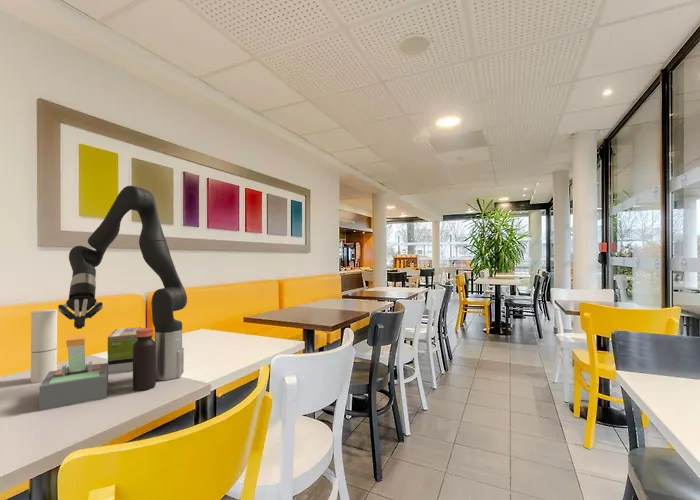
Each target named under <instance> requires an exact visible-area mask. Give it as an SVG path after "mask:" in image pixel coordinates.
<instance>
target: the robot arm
mask: <svg viewBox="0 0 700 500" xmlns="http://www.w3.org/2000/svg"><path fill="white" fill-rule="evenodd" d="M130 211H135V212H137V213H138V215H139V218H140V220H141V221H140V222H141V231H140V235H139V238H138V245H139V248H140V253H141V255H142V258H143V260H144V262H145V263H146V265H148V267H149V268H151V270H152V271H153V272H154V273H155V274H156V275H157V276H158V277H159V278H160V281H161V282H162V285H163V288H159V289H156V290H155V291H154V292H153V294H152V297H151V303H150V304H151V318H152V319H151V321H152V324H153V325H152V326H153V327H154V328H153V329H154V341H155V343H156V381H168V380H174V379H177V378H178V379H179V378H181V377H182V375H183V373H184V364H185V361H184V359H185V358H184V357H185V356H184V354H185V351H184V350H185V349H184V347H183V322H182V321H181V320H177V319H175V316H174V312H177V311H181V310H183V309H185V308H186V306H187V303H188V295H187V292H186V290H185V287H184V285H183V283H182V281H181V279H180V277H179V274H178V273H177V272H178V271H177V270H176V267H175V264H174V262H173V259H172V256H171V253H170V248H169V245H168V242H167V240H166V237H165V234H164V231H163V229H162V225H161V222H160V218H159V213H158V207H157V203H156V199H155V196H154V195H153V193H152V192H151V191H149V189H145V188H142V187H138V186H134V185H126V186H125V187H123V188H122V189H121V190H120V192H119V193H118V194H117V197H115V200H114V201H113V203H112V205H111V207H110V208H109V209H108V211H107V214H106V216H105V217H104V219H103V221H102V222H101V223H100V224H99V226H98V227H97V228H96V229H95V230H94V231H93V232H92V234H91V235H89V237H88V239H87V243H88V246H90V247H92V248H93V249H92V248H90V247H86V246H83V245H76V246H74V247H72V248H71V249H70V251H69V252H68V253H69V254H68V261H69V264H70V267H71V269H72V274H71V275H72V276H71V280H70V284H69V285H70V286H69V293H68V299H67V300H66V302H65V303H64V304H58V306H57V307H58V312H59V313H61V314H62V316H64V317H66V318H67V319H68V320H69V321H70V320H74V321H73V326H74V328H75V329H76V330H80V329H83V328H85V325H86V319H91V318H93V317H94V316H95V315H96V314H97V313H99V312H100V311H101V310H102V309H103V307H104V305H103V302H101V301H100V302H98V301H97V299H96V290H97V281H96V277H97V275H96V274H97V269H96V267H98V266H99V265H100V264H101V263H102V261H103V258H104V255H105V253H106V251H107V249H108V247H110V245H111V244H112V243H113V242H114V241H115V239H116V238H117V237H118V235H119V233H120V230H121V229H120V228H121V223H122V220H123V218H124V216H125V215H126V214H128V212H130ZM73 312H74V313H73ZM80 312H81V313H80Z"/></svg>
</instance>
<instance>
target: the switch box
mask: <svg viewBox="0 0 700 500" xmlns="http://www.w3.org/2000/svg"><path fill="white" fill-rule="evenodd" d="M67 367H68V366H67V364H64V365H62V367H61V369H57V370H56V371H49V373H48V374H47V376H46V378H45V379H44V381H43V382H41V383H40V385H39V388H38V389H39V390H38V391H39V394H38V395H39V397H38V398H39V399H38V400H39V401H38V403H39V404H38V407H39V408H38V410H39V412H40V411H47V410H52V409H57V408H62V407H67V406H72V405H77V404H82V403H87V402H93V401H98V400H99V401H100V400H103V399H107V396H108V395H107V394H108V387H109V374H108V362H106V363H96V364H93V361H92V360H90V361H88V364H87V372H80V373H74V374H67Z"/></svg>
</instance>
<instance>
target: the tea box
mask: <svg viewBox="0 0 700 500" xmlns="http://www.w3.org/2000/svg"><path fill="white" fill-rule="evenodd" d="M141 328H142V326H138V327H126V328H117V329H116V328H115V329H114V330H113V331H112V332H111V333H110V334H109V335H108V336H107V363H108V375H113V373H114V374H120V373H127V372H128V373H130V372H133V345H134V343H135V342H136V341H137V338H136V330H137V329H141Z"/></svg>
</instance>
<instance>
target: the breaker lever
mask: <svg viewBox="0 0 700 500" xmlns="http://www.w3.org/2000/svg"><path fill="white" fill-rule="evenodd" d="M65 345H66V348H67V355H68V356H67V357H68V366H67V374H74V373H80V372H87V365H88V364H87V363H86V350H85V349H86V348H85V347H86V346H85V345H86V333H80V334H72V335H67V336H66V344H65Z"/></svg>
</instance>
